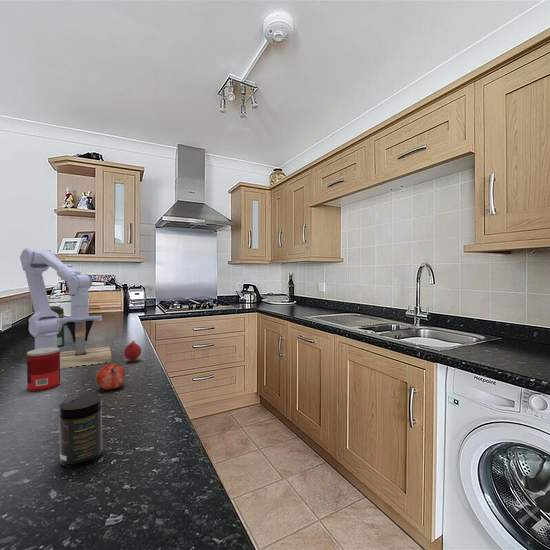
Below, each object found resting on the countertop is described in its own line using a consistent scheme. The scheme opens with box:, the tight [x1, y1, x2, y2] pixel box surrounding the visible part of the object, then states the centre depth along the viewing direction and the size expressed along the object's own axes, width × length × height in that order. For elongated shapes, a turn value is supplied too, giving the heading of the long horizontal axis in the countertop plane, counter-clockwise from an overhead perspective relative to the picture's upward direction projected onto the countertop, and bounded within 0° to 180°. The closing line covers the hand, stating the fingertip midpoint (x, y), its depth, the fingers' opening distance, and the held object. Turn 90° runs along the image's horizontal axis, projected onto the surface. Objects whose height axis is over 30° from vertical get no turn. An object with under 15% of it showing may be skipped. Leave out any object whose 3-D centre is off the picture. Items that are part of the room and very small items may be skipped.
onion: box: [123, 340, 142, 362], centre depth 118 cm, size 6×6×8 cm
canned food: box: [26, 347, 61, 392], centre depth 93 cm, size 8×8×11 cm
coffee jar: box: [50, 305, 65, 348], centre depth 145 cm, size 10×8×19 cm
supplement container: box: [58, 394, 103, 468], centre depth 57 cm, size 7×7×10 cm
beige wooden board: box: [60, 346, 112, 370], centre depth 119 cm, size 14×20×3 cm
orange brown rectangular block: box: [75, 330, 86, 354], centre depth 119 cm, size 5×3×7 cm, turn 31°
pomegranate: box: [96, 363, 126, 391], centre depth 91 cm, size 7×7×10 cm
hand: (80, 341), depth 119 cm, fingers closed on orange brown rectangular block, 3 cm apart
